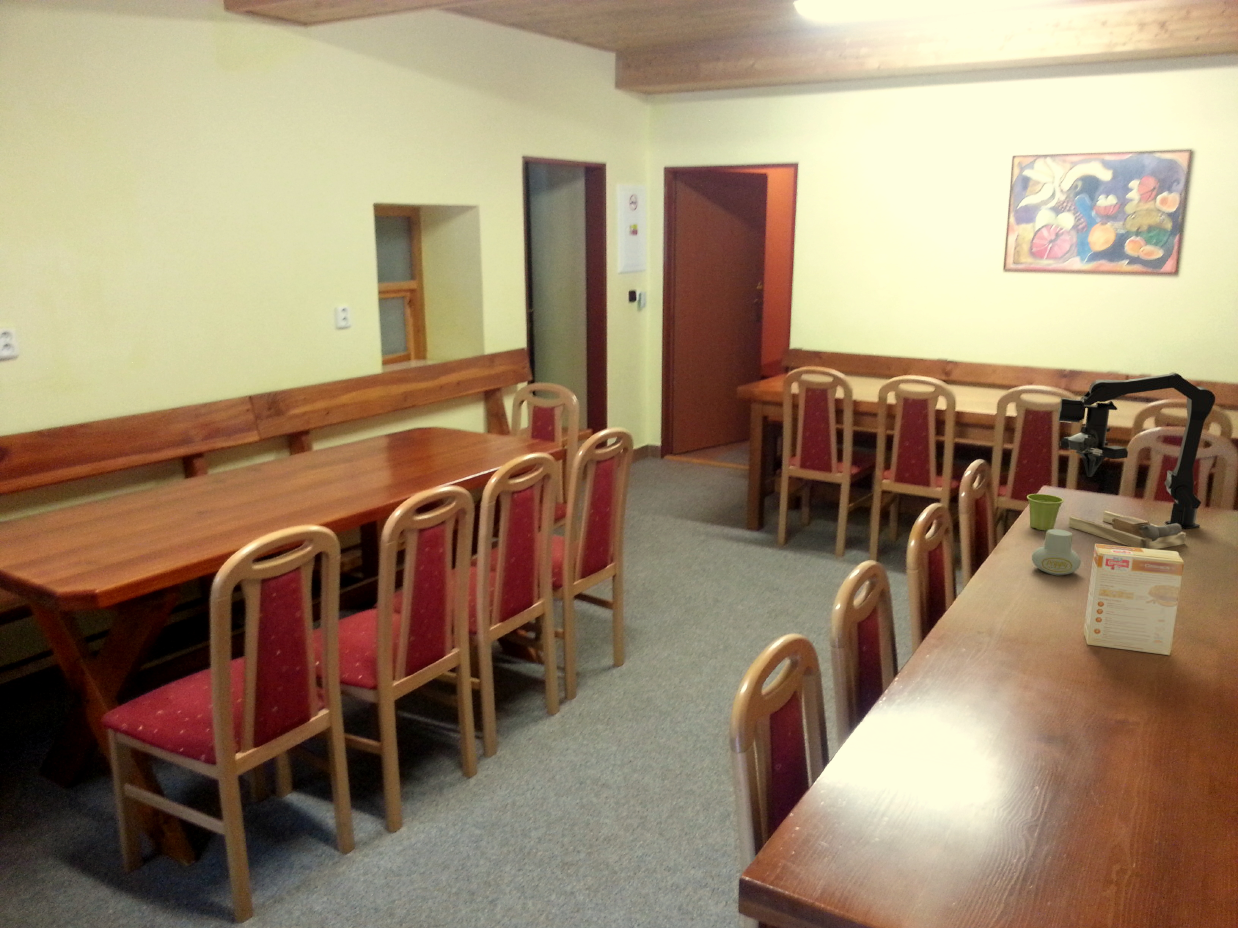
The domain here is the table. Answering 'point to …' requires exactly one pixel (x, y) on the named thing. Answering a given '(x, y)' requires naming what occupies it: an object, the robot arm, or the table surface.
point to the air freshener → (1056, 554)
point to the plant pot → (1043, 510)
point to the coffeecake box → (1133, 598)
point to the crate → (1129, 525)
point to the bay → (1151, 533)
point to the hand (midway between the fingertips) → (1089, 476)
